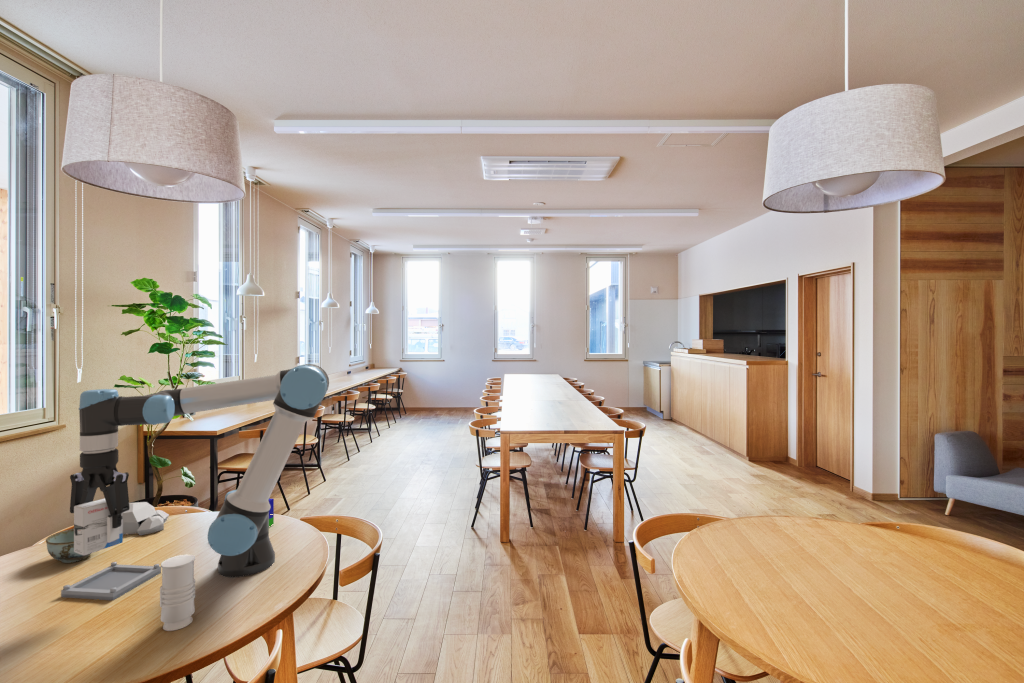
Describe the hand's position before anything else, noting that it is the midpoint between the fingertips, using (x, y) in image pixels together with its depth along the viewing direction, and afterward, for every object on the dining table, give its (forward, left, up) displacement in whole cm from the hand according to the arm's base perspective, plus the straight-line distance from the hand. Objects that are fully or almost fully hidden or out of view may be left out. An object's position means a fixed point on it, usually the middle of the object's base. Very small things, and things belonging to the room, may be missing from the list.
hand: (100, 540), depth 123 cm
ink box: (0, 0, -2) cm, 2 cm away
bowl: (+32, -23, -17) cm, 43 cm away
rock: (+33, -47, -17) cm, 60 cm away
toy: (-7, -51, -17) cm, 54 cm away
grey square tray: (+6, -10, -17) cm, 20 cm away
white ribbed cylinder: (-26, +5, -17) cm, 32 cm away
